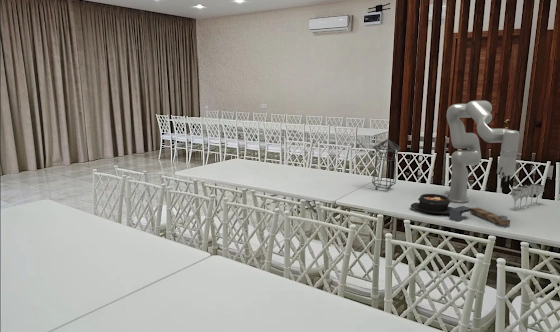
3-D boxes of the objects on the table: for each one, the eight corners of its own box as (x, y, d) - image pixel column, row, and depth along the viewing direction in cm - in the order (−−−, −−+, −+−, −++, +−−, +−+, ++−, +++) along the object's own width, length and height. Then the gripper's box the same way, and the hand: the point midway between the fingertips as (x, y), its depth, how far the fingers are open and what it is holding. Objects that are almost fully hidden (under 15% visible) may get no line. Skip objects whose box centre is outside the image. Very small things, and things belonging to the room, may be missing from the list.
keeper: (449, 218, 214) (450, 209, 212) (462, 215, 220) (463, 205, 219) (457, 221, 209) (458, 211, 208) (470, 217, 216) (471, 208, 214)
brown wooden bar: (509, 224, 203) (510, 217, 202) (501, 225, 201) (502, 218, 201) (477, 211, 224) (477, 205, 223) (469, 212, 223) (470, 205, 222)
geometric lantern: (376, 185, 285) (380, 137, 278) (398, 189, 276) (403, 139, 269) (368, 189, 273) (372, 139, 266) (390, 193, 264) (394, 141, 257)
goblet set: (516, 211, 227) (519, 189, 224) (506, 209, 232) (509, 187, 229) (543, 204, 240) (546, 183, 237) (534, 202, 245) (536, 181, 242)
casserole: (407, 212, 225) (408, 197, 224) (414, 203, 241) (415, 190, 239) (454, 219, 213) (456, 204, 211) (458, 210, 229) (460, 196, 227)
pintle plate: (491, 224, 205) (491, 223, 205) (499, 221, 209) (499, 221, 209) (505, 228, 200) (505, 227, 199) (512, 225, 203) (512, 225, 203)
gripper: (509, 151, 215) (505, 184, 218) (493, 154, 207) (489, 188, 210) (523, 153, 209) (519, 187, 212) (508, 156, 200) (503, 191, 204)
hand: (504, 187), depth 211 cm, fingers closed
